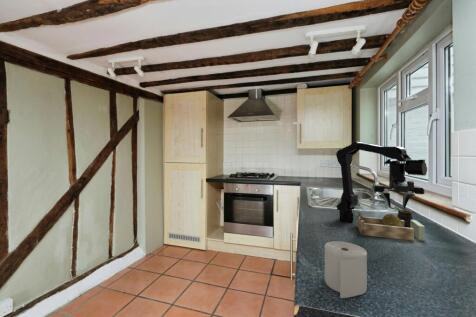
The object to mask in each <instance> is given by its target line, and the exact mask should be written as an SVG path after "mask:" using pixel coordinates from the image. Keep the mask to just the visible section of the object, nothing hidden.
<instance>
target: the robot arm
mask: <svg viewBox="0 0 476 317" xmlns="http://www.w3.org/2000/svg"><path fill="white" fill-rule="evenodd" d="M359 151H364V152H369V153H373V154H379V155H382V156H383V157H386V158H388V159H387V160H385V161H384V162H383V164H384V165H388V168H389V174H388V178H389V179H388V186H384V185H382V184H372V186H371V191H373V192H374V193H380V194H382V195H383V197H384V199H385V201H386V204H387V206H388V208H390V209H391V206H392V205H391V204H392V203H391V193H390V192H396V193H402V208H403V209H402V210H405V209H406V206H407V204H408V202H409V200H410V199H411V198H412V197H414V196H416V195H425V189H424V188H423V186H422V187H421V186H415V182H414V181H413V180H412V181H411V180H408V181H407V180H406V176H405V174H407V175H409V176H410V175H411V176H426V175H427V173H428V167H427V163H426V159H412V158H411V156H410V155H408V154H407V150H406V148H405V147H402V146H381V145H376V144H370V143H365V142H361V141H354V142H352V143H351V144H349V145H347V146H344V147H343V148H342V149H341V148H340V149H338V150H337V152H336V155H335V156H336V161H337V162H338V164H339V165H340V172H341V181H342V182H341V183H342V184H341V185H342V194H341V196H340V203H338V204H337V205H336V209H337V211H338V221H339V222H341V223H342V222H343V223H351V224H353V221H354V212H353V210H354V209H355V207H357V206H358V203H359V199H358V198H359V195H358V194H356V193H355V192H354V189H353V179H352V178H353V177H352V169H351V168H352V167H351V165H352V162H353V156H354V155H356V154H357V153H358V152H359Z"/></svg>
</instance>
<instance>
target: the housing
mask: <svg viewBox="0 0 476 317" xmlns="http://www.w3.org/2000/svg"><path fill="white" fill-rule="evenodd" d="M361 213H362V211H357V214H356V227H357V229H358V231H359V234H360V235H363V236H371V237H378V238H379V237H381V238H386V239H387V238H388V239H398V240H405V241H415V236H414V229H413V228H407V227H404V220H401V222H402V226H403V227H397V226H387V225H383V223H382V219H383V217H381V218H380V217H371V216H364V215H363V214H361Z"/></svg>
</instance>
